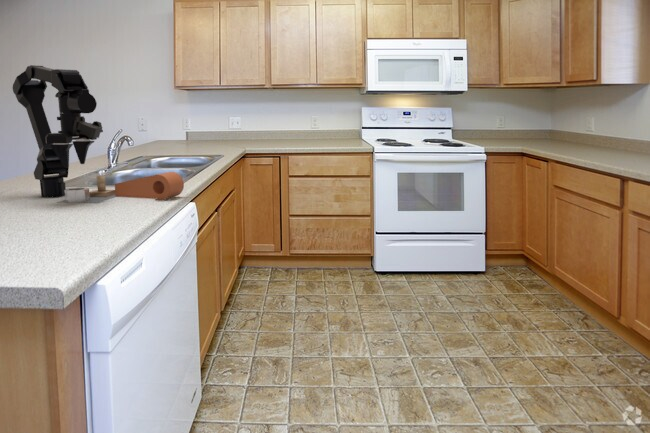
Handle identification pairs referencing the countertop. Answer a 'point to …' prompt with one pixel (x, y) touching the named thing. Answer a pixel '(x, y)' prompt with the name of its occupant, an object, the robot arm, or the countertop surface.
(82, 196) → the collar
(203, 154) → the countertop surface
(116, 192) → the crank
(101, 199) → the mat
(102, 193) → the tan stamp
